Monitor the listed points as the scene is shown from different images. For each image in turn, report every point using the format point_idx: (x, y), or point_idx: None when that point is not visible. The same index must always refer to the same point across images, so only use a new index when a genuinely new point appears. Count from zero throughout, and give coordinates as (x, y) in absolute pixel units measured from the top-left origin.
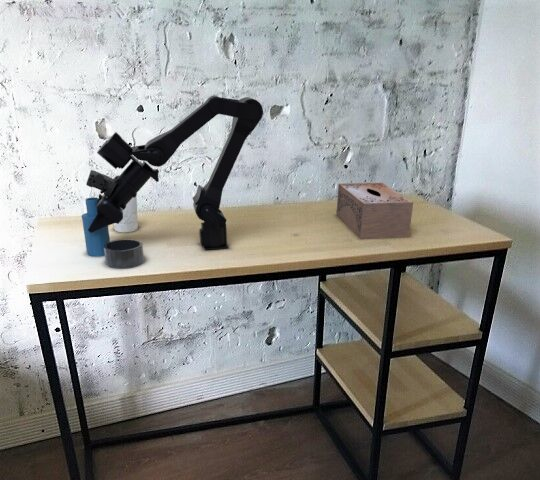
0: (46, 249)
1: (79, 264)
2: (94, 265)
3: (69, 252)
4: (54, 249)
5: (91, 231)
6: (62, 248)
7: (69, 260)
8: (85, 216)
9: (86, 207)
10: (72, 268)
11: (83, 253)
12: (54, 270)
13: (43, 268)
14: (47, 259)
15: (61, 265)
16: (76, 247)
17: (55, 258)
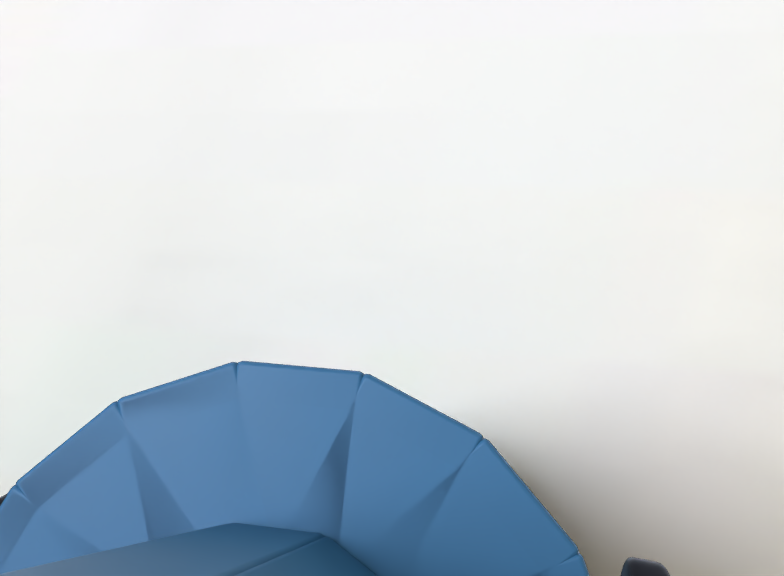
0: (723, 13)
1: (107, 315)
2: (13, 456)
3: (535, 238)
4: (698, 89)
5: None
6: (713, 170)
7: (265, 228)
8: (175, 454)
9: (127, 549)
10: (27, 246)
11: (446, 383)
12: (48, 97)
13: (139, 11)
14: (376, 33)
15: (151, 154)
16: (709, 323)
17: (379, 102)
